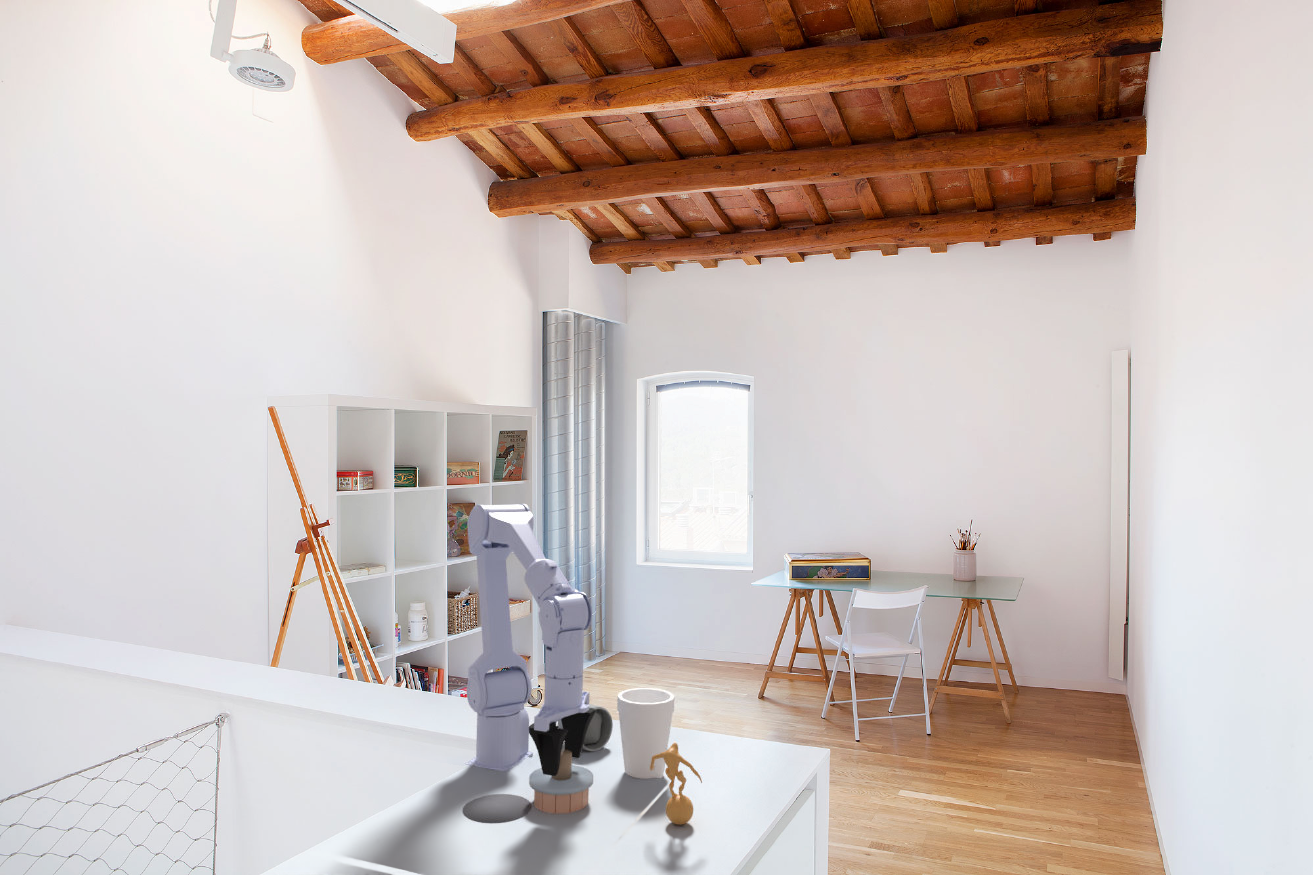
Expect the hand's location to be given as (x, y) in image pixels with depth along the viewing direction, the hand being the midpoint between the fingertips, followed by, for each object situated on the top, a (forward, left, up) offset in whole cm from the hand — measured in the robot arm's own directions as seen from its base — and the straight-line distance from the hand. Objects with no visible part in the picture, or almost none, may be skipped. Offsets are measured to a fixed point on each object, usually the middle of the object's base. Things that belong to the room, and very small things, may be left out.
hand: (561, 765), depth 123 cm
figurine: (0, +18, -6) cm, 19 cm away
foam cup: (-16, +7, -6) cm, 19 cm away
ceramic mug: (-24, -9, -6) cm, 26 cm away
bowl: (0, 0, -6) cm, 6 cm away
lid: (0, 0, -2) cm, 3 cm away
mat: (+6, -8, -6) cm, 11 cm away
